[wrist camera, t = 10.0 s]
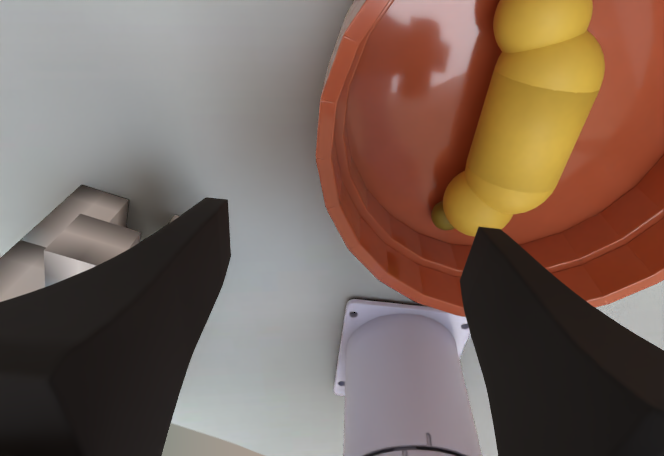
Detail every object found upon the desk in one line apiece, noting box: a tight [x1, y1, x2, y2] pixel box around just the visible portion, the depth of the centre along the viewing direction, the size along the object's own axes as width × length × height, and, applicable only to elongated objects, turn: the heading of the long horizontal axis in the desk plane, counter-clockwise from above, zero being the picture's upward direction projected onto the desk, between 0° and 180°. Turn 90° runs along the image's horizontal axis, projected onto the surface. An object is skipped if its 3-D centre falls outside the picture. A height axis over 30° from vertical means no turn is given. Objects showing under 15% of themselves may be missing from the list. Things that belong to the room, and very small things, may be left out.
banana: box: [431, 0, 605, 237], centre depth 17 cm, size 12×4×4 cm, turn 175°
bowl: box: [316, 0, 664, 317], centre depth 17 cm, size 17×17×5 cm
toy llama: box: [0, 185, 179, 302], centre depth 19 cm, size 8×18×20 cm, turn 160°
